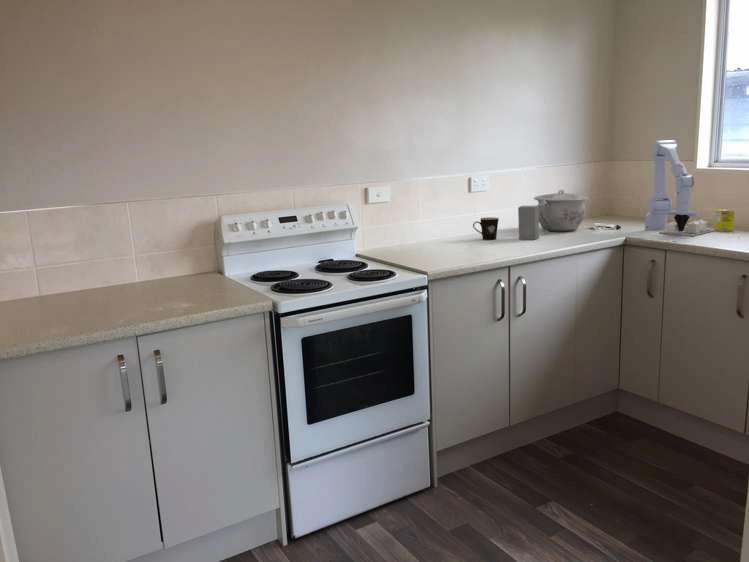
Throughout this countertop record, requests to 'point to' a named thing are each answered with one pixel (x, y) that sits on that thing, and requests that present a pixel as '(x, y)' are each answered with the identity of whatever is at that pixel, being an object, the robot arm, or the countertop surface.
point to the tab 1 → (672, 227)
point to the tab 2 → (702, 225)
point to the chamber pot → (561, 211)
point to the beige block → (693, 227)
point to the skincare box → (528, 222)
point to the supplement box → (724, 220)
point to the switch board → (689, 233)
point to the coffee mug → (488, 228)
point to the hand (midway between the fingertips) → (681, 231)
